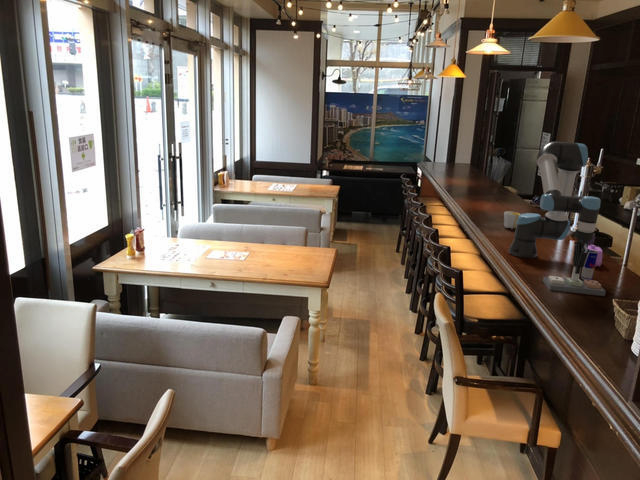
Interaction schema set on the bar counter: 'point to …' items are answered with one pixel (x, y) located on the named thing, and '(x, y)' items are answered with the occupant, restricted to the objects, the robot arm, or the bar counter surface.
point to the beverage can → (591, 241)
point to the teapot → (599, 256)
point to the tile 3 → (592, 284)
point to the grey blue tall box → (589, 265)
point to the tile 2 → (574, 282)
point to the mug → (510, 219)
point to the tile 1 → (556, 280)
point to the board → (574, 288)
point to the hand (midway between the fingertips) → (574, 279)
